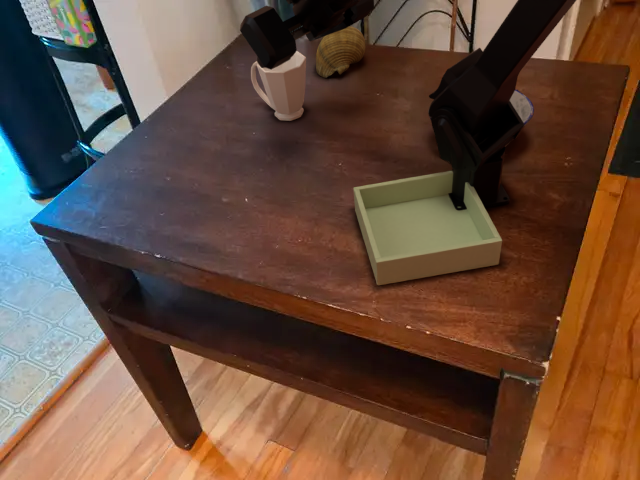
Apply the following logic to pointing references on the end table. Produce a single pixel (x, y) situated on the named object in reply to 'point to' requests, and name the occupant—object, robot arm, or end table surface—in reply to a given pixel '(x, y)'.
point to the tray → (424, 228)
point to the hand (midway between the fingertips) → (284, 50)
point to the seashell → (339, 51)
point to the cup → (283, 86)
